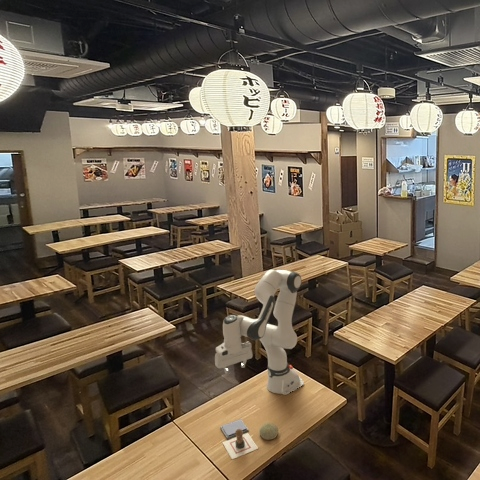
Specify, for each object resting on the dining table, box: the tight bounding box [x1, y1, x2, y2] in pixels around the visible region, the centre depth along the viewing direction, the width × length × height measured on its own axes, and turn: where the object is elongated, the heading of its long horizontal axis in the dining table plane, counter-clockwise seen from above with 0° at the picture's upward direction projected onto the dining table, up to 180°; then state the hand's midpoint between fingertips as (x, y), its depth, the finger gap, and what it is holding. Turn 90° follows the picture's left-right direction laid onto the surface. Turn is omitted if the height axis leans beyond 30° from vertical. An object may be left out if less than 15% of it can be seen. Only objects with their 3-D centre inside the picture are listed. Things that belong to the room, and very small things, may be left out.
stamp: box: [235, 429, 245, 449], centre depth 195 cm, size 4×4×9 cm
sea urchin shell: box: [258, 422, 279, 441], centre depth 202 cm, size 9×8×8 cm
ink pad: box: [220, 418, 249, 440], centre depth 207 cm, size 12×9×2 cm
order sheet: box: [222, 432, 259, 460], centre depth 197 cm, size 14×12×1 cm
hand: (235, 369), depth 210 cm, fingers open, 8 cm apart
